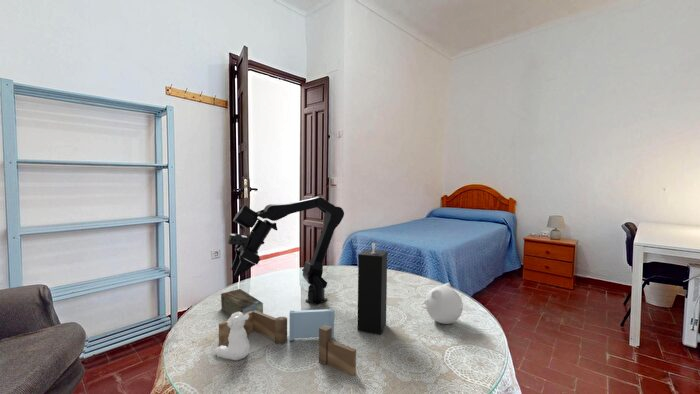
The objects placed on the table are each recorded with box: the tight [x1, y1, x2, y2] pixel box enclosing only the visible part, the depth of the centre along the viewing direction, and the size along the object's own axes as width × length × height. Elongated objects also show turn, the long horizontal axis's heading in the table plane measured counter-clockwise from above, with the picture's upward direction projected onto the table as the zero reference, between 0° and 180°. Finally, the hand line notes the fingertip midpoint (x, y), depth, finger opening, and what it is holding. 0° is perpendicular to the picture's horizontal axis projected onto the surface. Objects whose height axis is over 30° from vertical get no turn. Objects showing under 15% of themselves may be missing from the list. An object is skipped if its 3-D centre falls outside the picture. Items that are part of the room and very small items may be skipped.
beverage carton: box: [220, 288, 264, 316], centre depth 109 cm, size 8×19×6 cm, turn 44°
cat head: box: [420, 282, 464, 325], centre depth 103 cm, size 15×13×12 cm
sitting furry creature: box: [214, 312, 251, 361], centre depth 82 cm, size 10×9×12 cm
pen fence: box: [218, 310, 357, 376], centre depth 82 cm, size 14×40×9 cm, turn 55°
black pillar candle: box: [357, 242, 388, 335], centre depth 98 cm, size 8×8×28 cm
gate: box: [288, 308, 335, 341], centre depth 91 cm, size 13×2×8 cm, turn 97°
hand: (233, 273), depth 107 cm, fingers open, 9 cm apart
